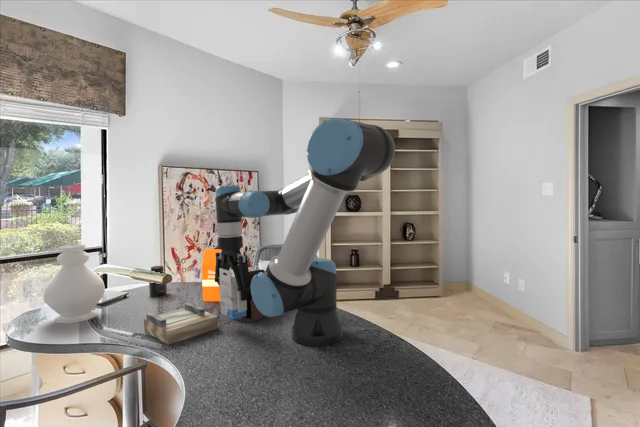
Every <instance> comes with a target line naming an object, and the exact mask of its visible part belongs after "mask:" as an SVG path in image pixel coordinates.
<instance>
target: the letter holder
mask: <svg viewBox="0 0 640 427" xmlns="http://www.w3.org/2000/svg"><path fill="white" fill-rule="evenodd" d="M265 271H266V270H265V269H254V270H251V271H250V270H249V275H250V281H252V278H253V277H254V276H255V275H256V274H258V273H260V272H262V273H263V272H265ZM263 317H266V316H265V315H263V314H262V313H261V312H260V311H259V310H258V309H257V307H256V305H255V303H254V301H253V298H252V295H251V288H248V289H247V310H246V316H245V317H241V318H238V319H235V320H237V321H242V322H247V323H255V322H256V321H258V320H260V319H262V318H263Z"/></svg>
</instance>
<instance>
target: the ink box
mask: <svg viewBox="0 0 640 427" xmlns="http://www.w3.org/2000/svg"><path fill="white" fill-rule="evenodd" d="M231 271H232V270H230V271H228V270H225V269H221V268H220V269H219V272H220V298H221V306H220V312H221V313H220V314H221V315H223V316H225V317H227V318H229V319H230V320H236V319H238V318H241V317H245V316H246V310H245V311H242V312H238V299H237V289H239V288H238V285H237V281H236V278H235V275H232V272H231ZM223 273H226V274H227V276H226V275H223Z"/></svg>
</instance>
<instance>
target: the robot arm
mask: <svg viewBox="0 0 640 427" xmlns="http://www.w3.org/2000/svg"><path fill="white" fill-rule="evenodd" d="M306 152H307V153H308V154H307V155H306V158H307V163H308V165H309V166H308V173H307V174H305V175H304V176H302V177H300V178H298V179H296V180H295V181H292V182H291V183H289V184H288V185H286V186H283V187H282V188H280V189H278V190H248V191H247V190H246V191H241V187H240V186H239V185H219V186H218V185H217V187H216V189H215V198H214V200H215V212H216V213H215V214H216V232H217V233H216V235H217V236H218V237H217V249H220V250H222V251H221V252H217V253H216V254H215V255H216V267H215V282H217V283H218V285H219V293H220V272H219V269H220V268H221V269H225V270H228V271H229V270H230V271H233V274H234V276H235V278H236V281H237V285H238V288H239V289H237V299H238V312H242V311H245V310H247V289H248V288H251V295H252V298H253V301H254V303H255V305H256V307H257V309H258V310H259V311H260V312H261V313H262V314H263V315H265V316H264V317H266V318H267V317H268V318H274V317H277V316H280V317H281V316H282V315H284V314H287V313H290V312H293V311H296V314H295V318H294V320H293V321H294V322H293V325H292V326H291V338H292V340H293V341H295V342H296V343H298V344H302V345H304V346H312V347H314V346H315V347H323V346H327V345H332V344H336V343H337V342H339V341H341V340H342V339H343V337H344V327H343V325H342V323H341V320H340V316H339V313H338V307H337V306H338V305H337V304H338V303H337V302H338V299H337V296H338V295H337V293H338V292H337V289H338V288H337V287H338V286H337V274H338V273H337V266H336V263H335V261H334V260H332V259H330V258H329V259H328V258H322V257H321V258H320V257H316V256H317V254H318V252H319V250H320V248H321V246H322V244H323V242H324V239H325V238H326V235H327V233H328V231H329V229H330V227H331V225H332V223H333V221H334V219H335V217H336V215H337V212H338V211H339V208H340V207H341V206H342V205H341V204H342V203H343V200H344V198H345V196H346V195H347V194H348V193H353V192H355V191H356V189H357V187H358V186H359V183H360V182H364V181H367V180H369V179H371V178H374V177H376V176H378V175H381V174H382V173H384V172H385V171H387V169H389V167H390V166H391V165H392V163H393V160H394V158H395V153H396V145H395V140H394V139H393V137H392V136H391V134H390V133H389V132H388V131H387V130H386V129H385V128H383V127H381V126H380V125H375V124H369V123H363V122H360V121H355V120H351V119H348V118H330V119H328V120H325V121H323V122H321V123H319V124H318V125H317V126H316V127H315V128H314V129H313V131H312V132H311V134H310V136H309V138H308V142H307V144H306ZM295 213H296V214H295ZM291 214H295V215H294V219H293V221H292V223H291V225H290V228H289V231H288V233H287V234H286V237H285V240H284V241H283V244H282V246H281V248H280V251H279V253H278V254H277V255H275V256H272V258H270V260H269V262H268V264H267V266H266V269H265V270H264V271H265V272H263V273H262V272H260V273H258V274H256V275H255V276H254V277H253V278H252V281H250V275H249V272H250V270H249V264H248V255H247V254H242V252H241V249H242V248H243V246H244V242H243V240H244V238H243V236H242V234H243V224H242V223H243V222H242V221H243V219H242V218H249V219H256V218H262V217H269V216H281V215H286V216H287V215H291ZM223 275H226V276H227V274H226V273H223ZM218 277H219V278H218ZM219 303H220V304H219V305H220V307H221V298H220V301H219Z"/></svg>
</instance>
